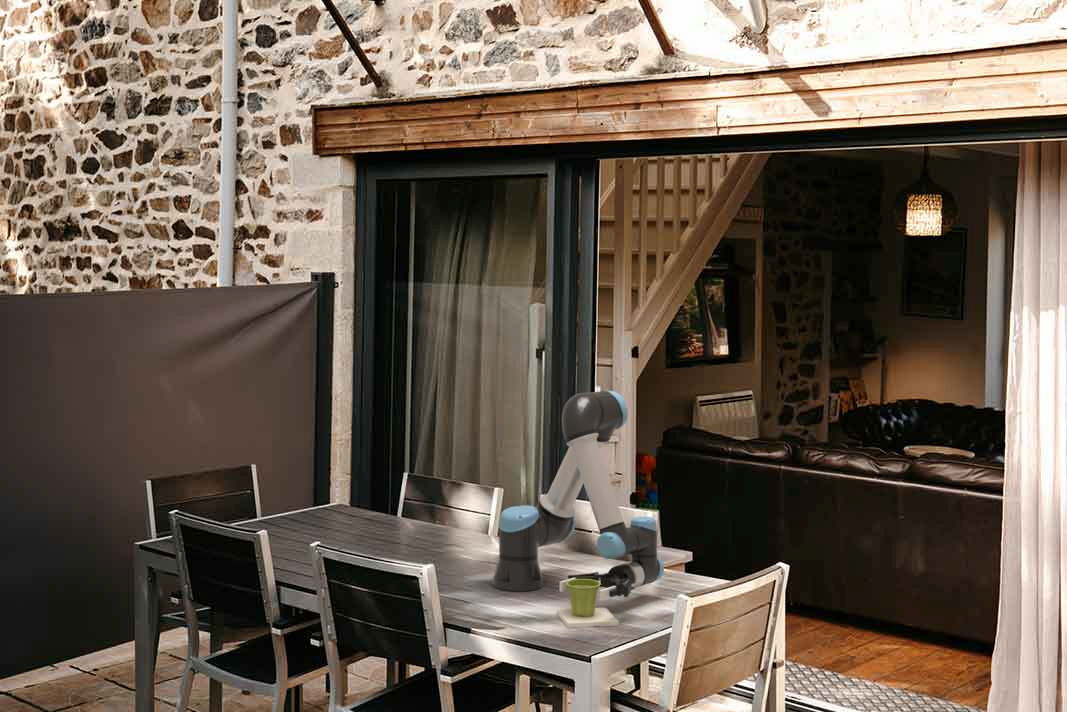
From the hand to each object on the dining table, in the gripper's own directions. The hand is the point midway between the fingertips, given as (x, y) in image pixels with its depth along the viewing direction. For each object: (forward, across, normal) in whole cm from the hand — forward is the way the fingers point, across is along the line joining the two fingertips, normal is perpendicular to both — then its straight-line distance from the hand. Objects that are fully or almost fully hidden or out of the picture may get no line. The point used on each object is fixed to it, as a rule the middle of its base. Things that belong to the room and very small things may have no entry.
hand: (580, 591), depth 338 cm
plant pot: (-4, +2, -8) cm, 8 cm away
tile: (-3, 0, -8) cm, 9 cm away
